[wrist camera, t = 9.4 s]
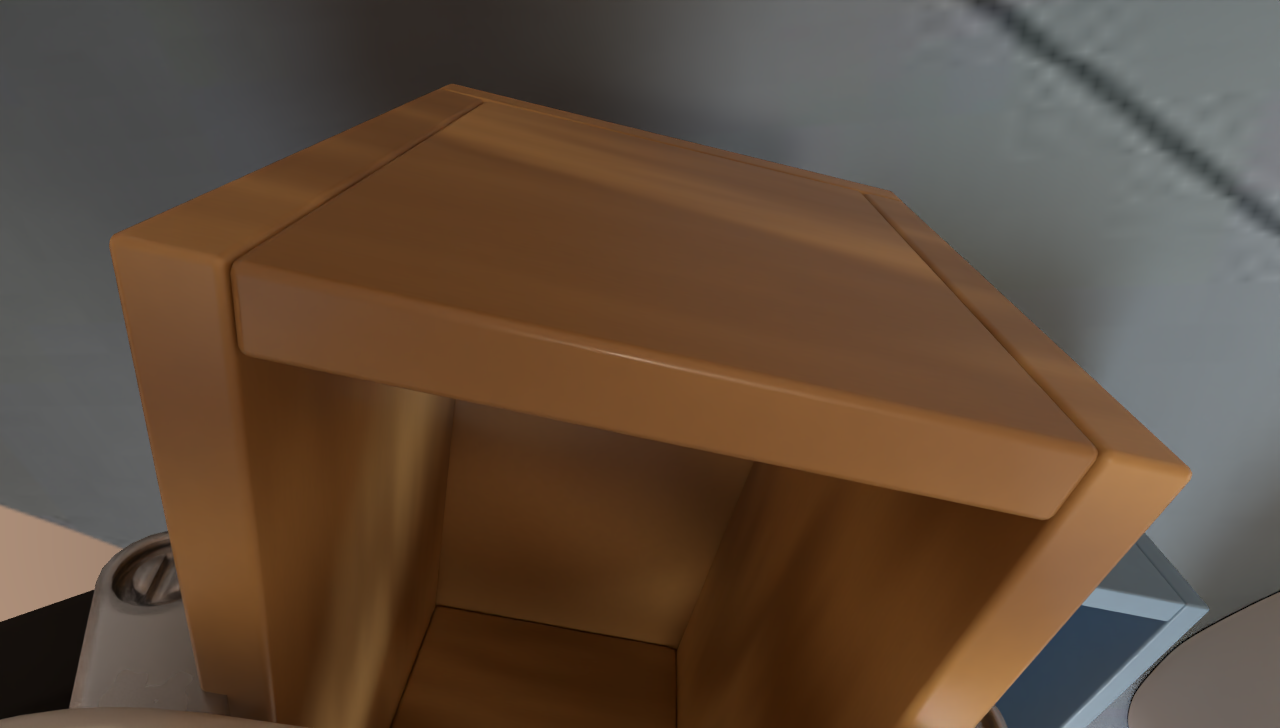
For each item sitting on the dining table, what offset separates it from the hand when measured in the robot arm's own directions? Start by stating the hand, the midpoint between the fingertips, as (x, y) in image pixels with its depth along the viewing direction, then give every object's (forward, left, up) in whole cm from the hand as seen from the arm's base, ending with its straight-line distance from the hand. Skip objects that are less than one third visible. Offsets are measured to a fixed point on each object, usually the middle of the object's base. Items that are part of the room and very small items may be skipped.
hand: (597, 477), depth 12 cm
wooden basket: (0, 0, -1) cm, 1 cm away
